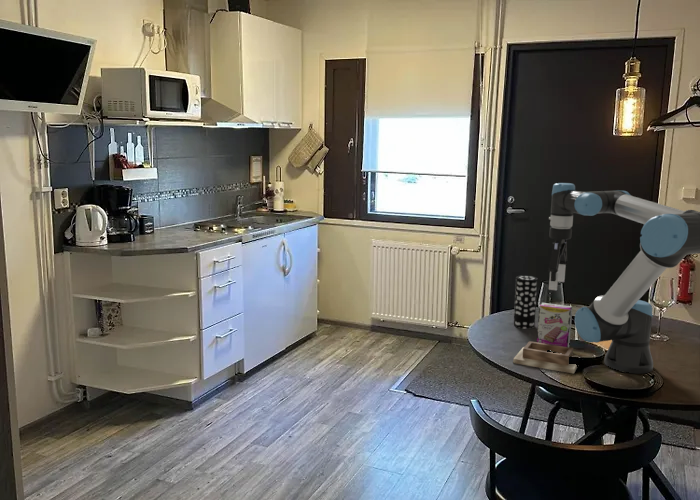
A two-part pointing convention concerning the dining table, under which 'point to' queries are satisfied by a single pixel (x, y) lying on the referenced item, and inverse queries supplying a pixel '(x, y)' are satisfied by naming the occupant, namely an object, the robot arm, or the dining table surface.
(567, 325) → the candy bar box
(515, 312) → the white-spotted black cylinder
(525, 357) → the stand
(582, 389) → the dining table surface
